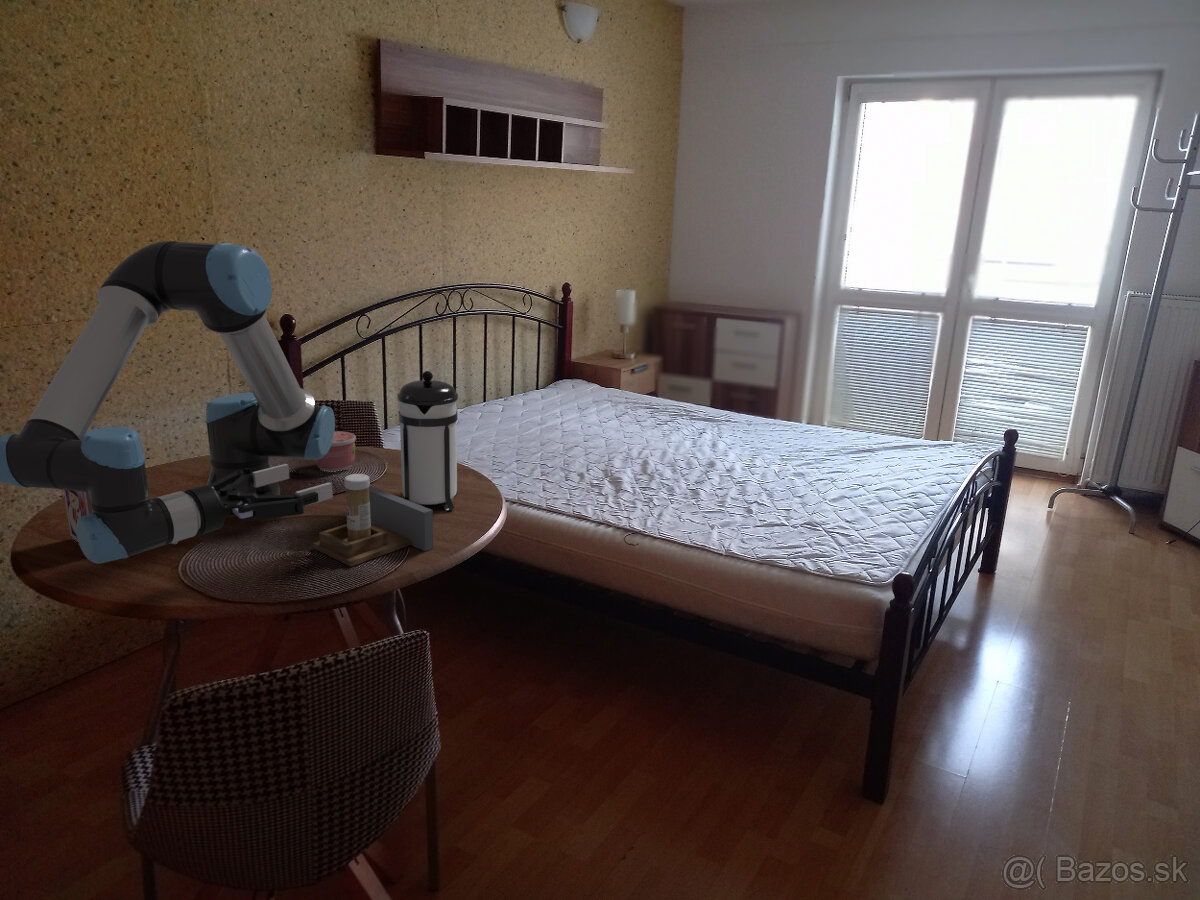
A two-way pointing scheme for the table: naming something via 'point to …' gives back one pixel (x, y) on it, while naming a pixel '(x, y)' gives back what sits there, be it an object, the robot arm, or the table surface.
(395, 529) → the backstop wall
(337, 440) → the container
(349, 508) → the sprinkles bottle
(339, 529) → the socket block
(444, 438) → the coffee press
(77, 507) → the greeting card
